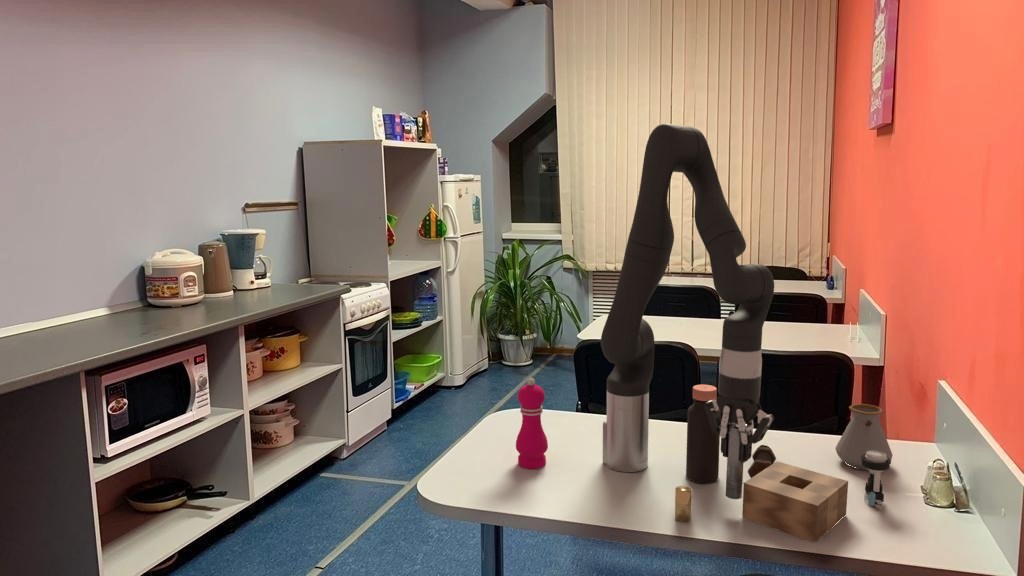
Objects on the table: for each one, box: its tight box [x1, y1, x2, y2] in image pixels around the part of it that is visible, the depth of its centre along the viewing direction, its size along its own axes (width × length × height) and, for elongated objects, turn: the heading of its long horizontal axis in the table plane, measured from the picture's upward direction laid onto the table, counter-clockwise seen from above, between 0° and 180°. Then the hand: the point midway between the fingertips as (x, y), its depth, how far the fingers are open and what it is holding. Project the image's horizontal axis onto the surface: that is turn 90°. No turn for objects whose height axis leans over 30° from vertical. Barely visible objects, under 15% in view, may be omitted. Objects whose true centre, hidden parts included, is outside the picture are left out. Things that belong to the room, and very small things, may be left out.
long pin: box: [725, 423, 745, 500], centre depth 143 cm, size 3×3×14 cm
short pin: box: [674, 485, 693, 524], centre depth 142 cm, size 3×3×6 cm
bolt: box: [747, 444, 777, 479], centre depth 163 cm, size 6×5×15 cm
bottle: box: [685, 384, 722, 485], centre depth 159 cm, size 7×7×20 cm
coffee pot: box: [835, 403, 893, 472], centre depth 161 cm, size 21×12×15 cm, turn 156°
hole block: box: [741, 460, 849, 543], centre depth 142 cm, size 14×14×7 cm
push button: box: [861, 450, 892, 510], centre depth 147 cm, size 7×5×10 cm
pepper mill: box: [515, 377, 549, 470], centre depth 168 cm, size 7×7×20 cm
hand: (735, 458), depth 143 cm, fingers closed on long pin, 3 cm apart
